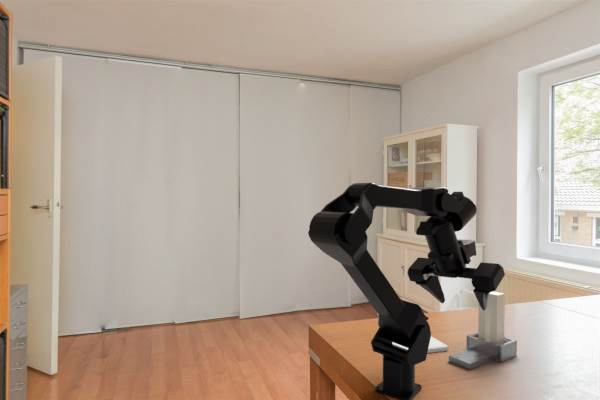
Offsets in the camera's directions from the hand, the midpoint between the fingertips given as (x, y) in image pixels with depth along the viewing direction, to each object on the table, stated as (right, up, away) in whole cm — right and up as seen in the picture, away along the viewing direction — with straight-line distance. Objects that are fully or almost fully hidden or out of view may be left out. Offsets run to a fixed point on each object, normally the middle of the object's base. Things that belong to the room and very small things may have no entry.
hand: (463, 305), depth 85 cm
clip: (+8, -11, +5) cm, 15 cm away
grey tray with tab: (+5, -12, +3) cm, 13 cm away
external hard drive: (-8, -13, +9) cm, 17 cm away
